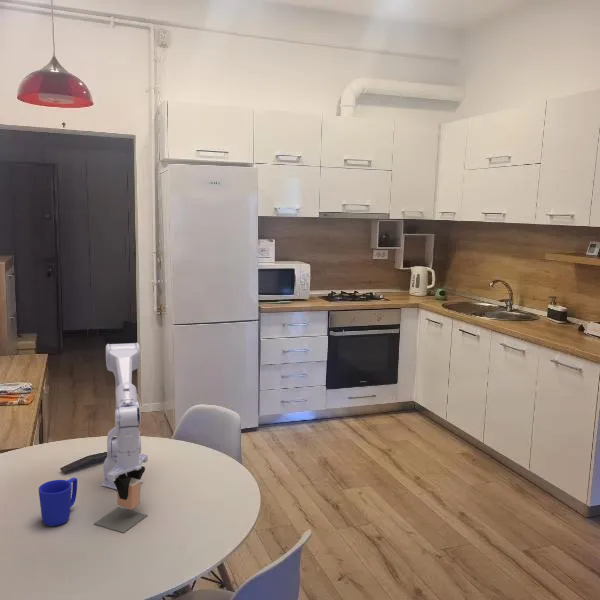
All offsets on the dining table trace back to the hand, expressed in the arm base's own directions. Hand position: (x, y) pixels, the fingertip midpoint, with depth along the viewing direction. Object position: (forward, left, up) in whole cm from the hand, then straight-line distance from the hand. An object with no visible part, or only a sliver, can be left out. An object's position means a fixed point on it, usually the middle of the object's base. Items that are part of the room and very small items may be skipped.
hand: (128, 495), depth 162 cm
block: (0, 0, -2) cm, 3 cm away
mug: (-15, -9, -6) cm, 19 cm away
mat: (0, -3, -6) cm, 7 cm away
